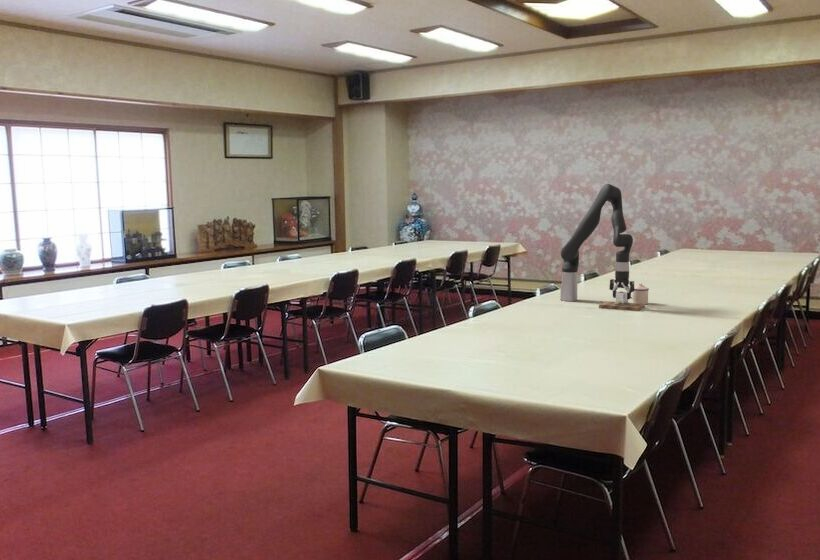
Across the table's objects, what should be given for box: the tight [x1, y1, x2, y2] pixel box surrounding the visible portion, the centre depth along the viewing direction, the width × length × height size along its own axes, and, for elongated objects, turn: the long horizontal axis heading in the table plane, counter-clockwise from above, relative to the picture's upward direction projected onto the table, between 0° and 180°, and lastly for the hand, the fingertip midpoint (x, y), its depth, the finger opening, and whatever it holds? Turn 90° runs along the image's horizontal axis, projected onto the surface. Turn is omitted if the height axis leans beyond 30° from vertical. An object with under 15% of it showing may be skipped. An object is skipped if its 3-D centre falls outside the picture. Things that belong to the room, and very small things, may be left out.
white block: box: [615, 290, 629, 304], centre depth 414 cm, size 8×5×6 cm, turn 133°
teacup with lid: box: [630, 282, 650, 305], centre depth 428 cm, size 12×9×12 cm
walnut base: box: [598, 301, 646, 312], centre depth 415 cm, size 22×13×3 cm, turn 59°
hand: (621, 298), depth 414 cm, fingers open, 8 cm apart
